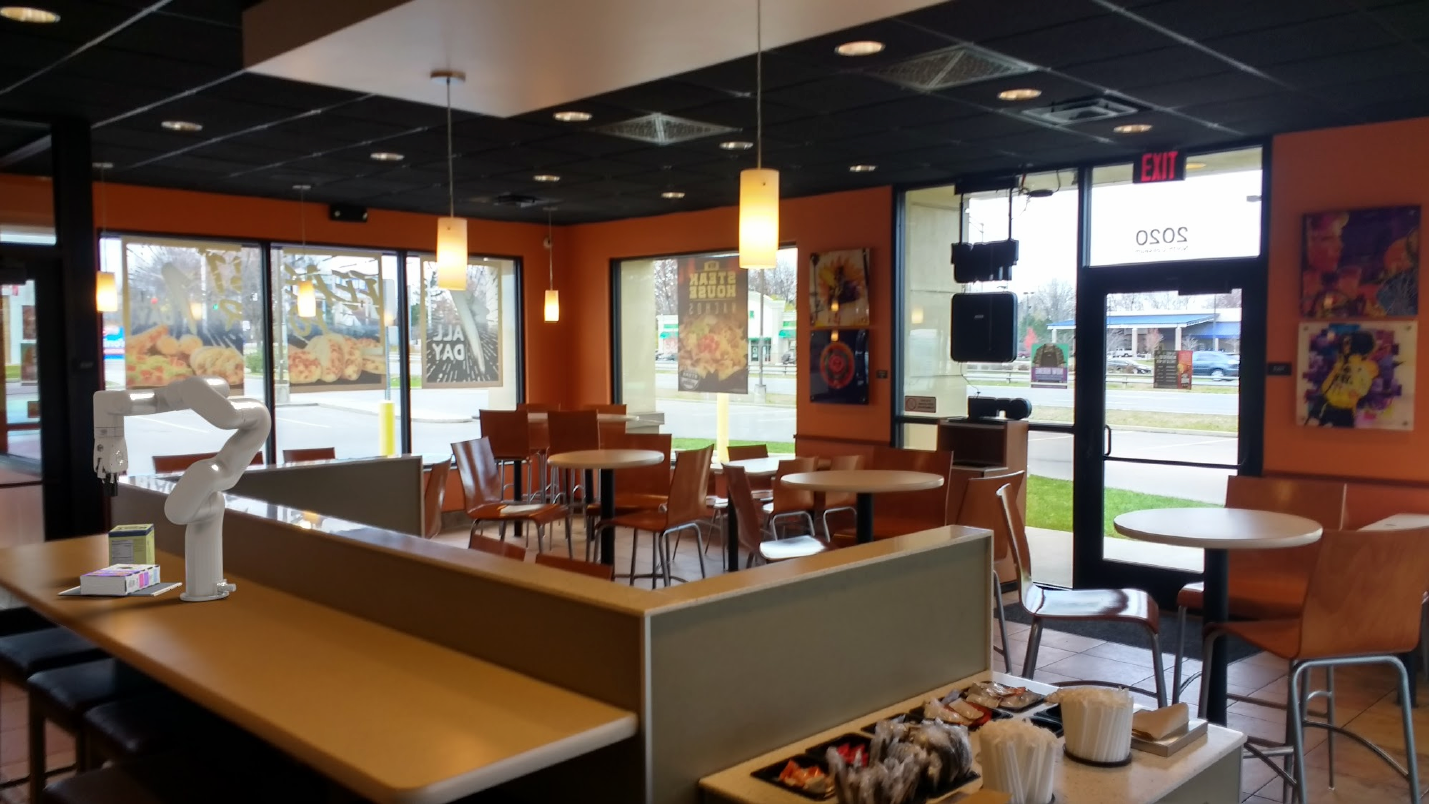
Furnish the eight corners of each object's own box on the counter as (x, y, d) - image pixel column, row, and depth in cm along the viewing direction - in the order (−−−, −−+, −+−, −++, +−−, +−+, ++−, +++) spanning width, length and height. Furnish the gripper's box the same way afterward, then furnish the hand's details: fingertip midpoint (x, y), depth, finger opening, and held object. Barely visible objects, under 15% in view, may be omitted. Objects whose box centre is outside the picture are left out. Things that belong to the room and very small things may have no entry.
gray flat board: (182, 584, 312) (182, 582, 312) (153, 596, 297) (153, 594, 297) (90, 584, 313) (90, 582, 313) (57, 595, 298) (57, 593, 298)
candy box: (125, 596, 295) (161, 583, 312) (124, 575, 295) (160, 563, 311) (80, 595, 296) (118, 582, 313) (79, 574, 296) (117, 563, 312)
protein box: (155, 571, 333) (154, 522, 333) (147, 580, 319) (146, 530, 318) (118, 573, 330) (117, 524, 329) (108, 583, 315) (107, 532, 315)
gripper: (107, 434, 292) (109, 499, 293) (136, 431, 307) (138, 493, 308) (80, 435, 292) (82, 500, 293) (111, 431, 307) (112, 493, 307)
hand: (111, 496), depth 300 cm, fingers closed
